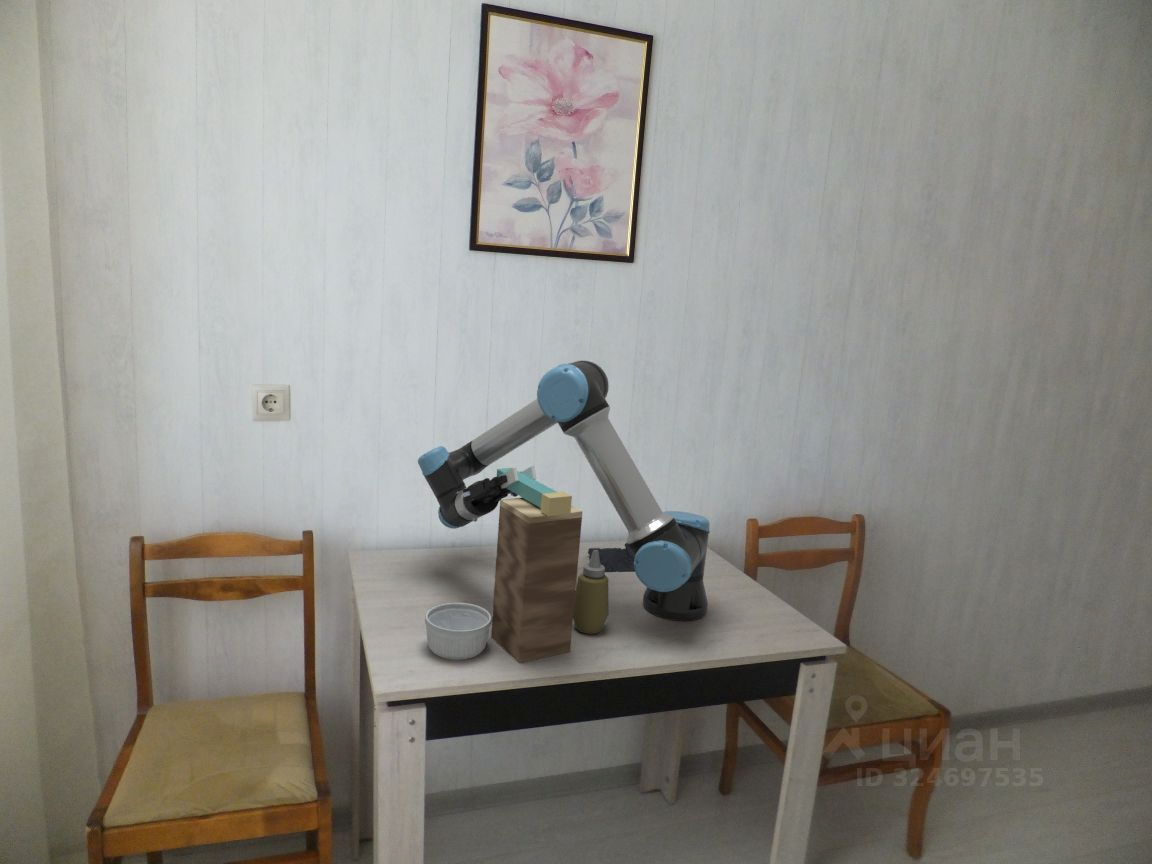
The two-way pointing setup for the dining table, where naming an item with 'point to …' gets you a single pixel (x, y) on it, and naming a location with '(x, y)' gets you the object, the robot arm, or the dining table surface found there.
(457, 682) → the dining table surface
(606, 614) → the squeeze bottle
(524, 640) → the post
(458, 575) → the dining table surface
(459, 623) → the ramekin
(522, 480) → the peg
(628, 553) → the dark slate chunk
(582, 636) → the dining table surface
